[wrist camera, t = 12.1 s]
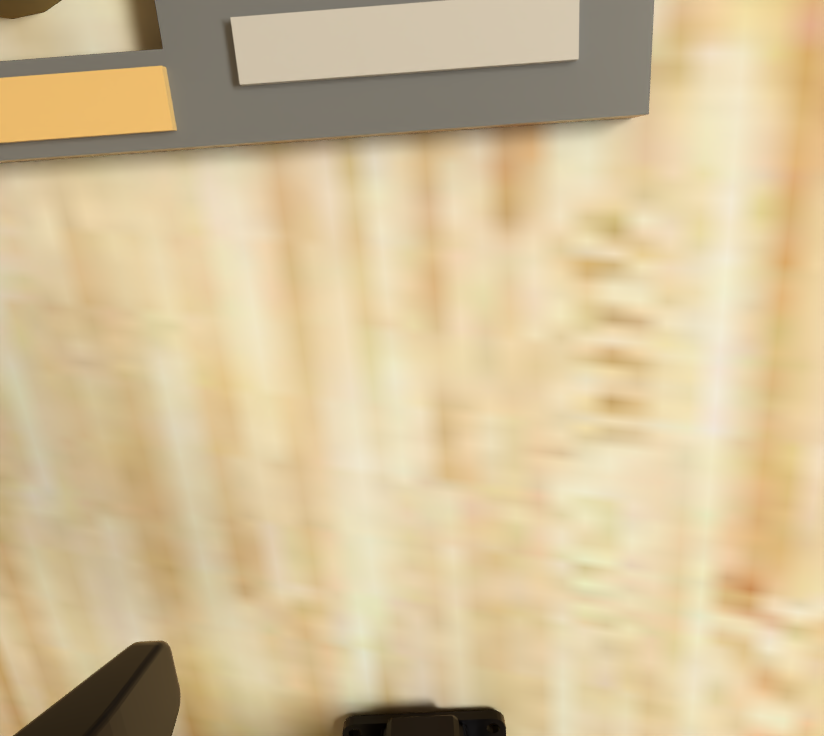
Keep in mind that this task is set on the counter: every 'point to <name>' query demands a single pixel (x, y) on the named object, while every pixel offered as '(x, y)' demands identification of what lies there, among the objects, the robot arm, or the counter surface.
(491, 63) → the panel
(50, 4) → the cork
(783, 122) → the counter surface
